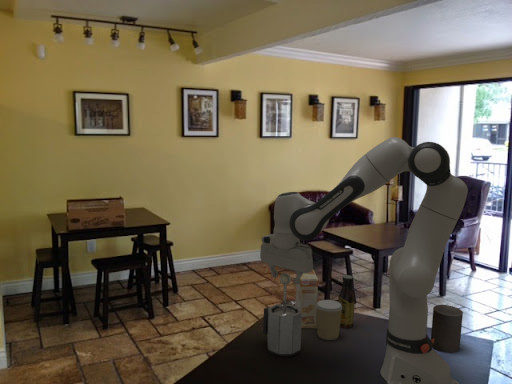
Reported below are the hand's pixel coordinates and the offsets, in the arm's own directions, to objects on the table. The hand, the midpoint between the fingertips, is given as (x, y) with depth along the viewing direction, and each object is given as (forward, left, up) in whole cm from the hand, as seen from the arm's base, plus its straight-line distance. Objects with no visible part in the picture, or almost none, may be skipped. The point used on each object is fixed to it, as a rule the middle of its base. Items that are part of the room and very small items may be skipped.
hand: (285, 280), depth 152 cm
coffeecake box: (+9, -25, -25) cm, 36 cm away
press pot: (+1, 0, -25) cm, 25 cm away
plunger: (0, 0, -12) cm, 12 cm away
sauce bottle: (-5, -32, -25) cm, 41 cm away
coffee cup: (-5, -20, -25) cm, 32 cm away
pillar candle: (-40, -41, -25) cm, 62 cm away
